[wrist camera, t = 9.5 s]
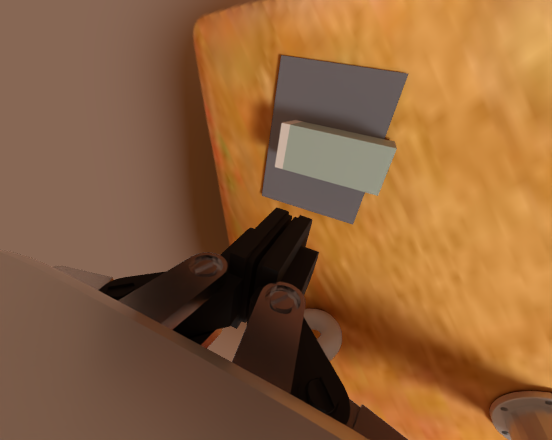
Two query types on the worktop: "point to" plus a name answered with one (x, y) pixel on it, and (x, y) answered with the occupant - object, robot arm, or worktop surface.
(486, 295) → the worktop surface
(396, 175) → the worktop surface
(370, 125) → the charcoal mat
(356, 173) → the sage block
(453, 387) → the worktop surface
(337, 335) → the donut
